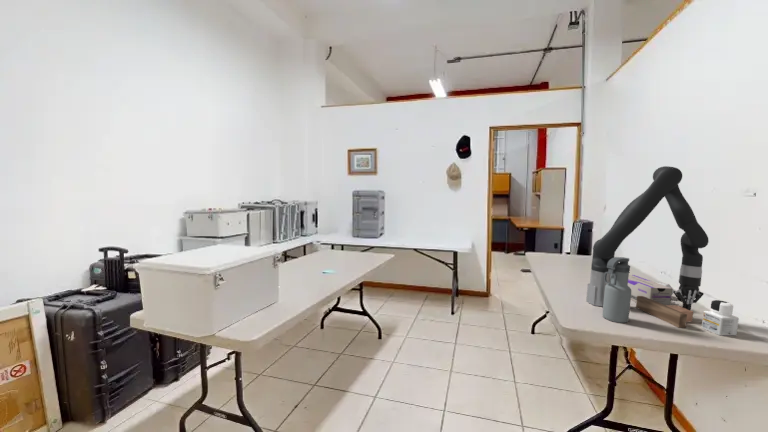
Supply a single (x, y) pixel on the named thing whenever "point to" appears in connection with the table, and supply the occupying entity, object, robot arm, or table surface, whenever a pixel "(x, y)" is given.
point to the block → (681, 309)
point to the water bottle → (617, 291)
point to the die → (667, 286)
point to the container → (720, 319)
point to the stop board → (662, 311)
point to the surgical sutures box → (649, 290)
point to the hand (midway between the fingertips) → (686, 311)
